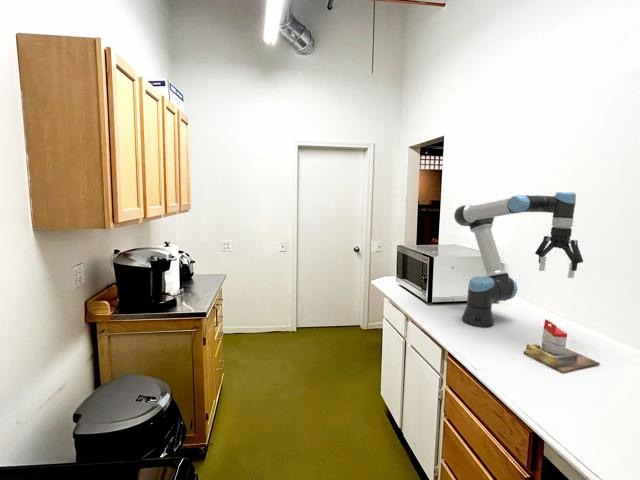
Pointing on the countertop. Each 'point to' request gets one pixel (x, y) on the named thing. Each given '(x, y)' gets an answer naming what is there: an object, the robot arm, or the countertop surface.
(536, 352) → the board
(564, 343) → the ink box
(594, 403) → the countertop surface
